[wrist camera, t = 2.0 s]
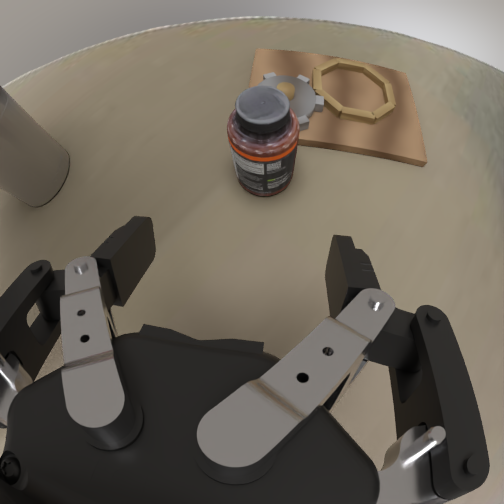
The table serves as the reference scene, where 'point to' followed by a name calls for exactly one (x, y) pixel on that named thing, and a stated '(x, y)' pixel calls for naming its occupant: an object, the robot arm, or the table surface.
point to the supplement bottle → (263, 140)
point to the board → (345, 103)
